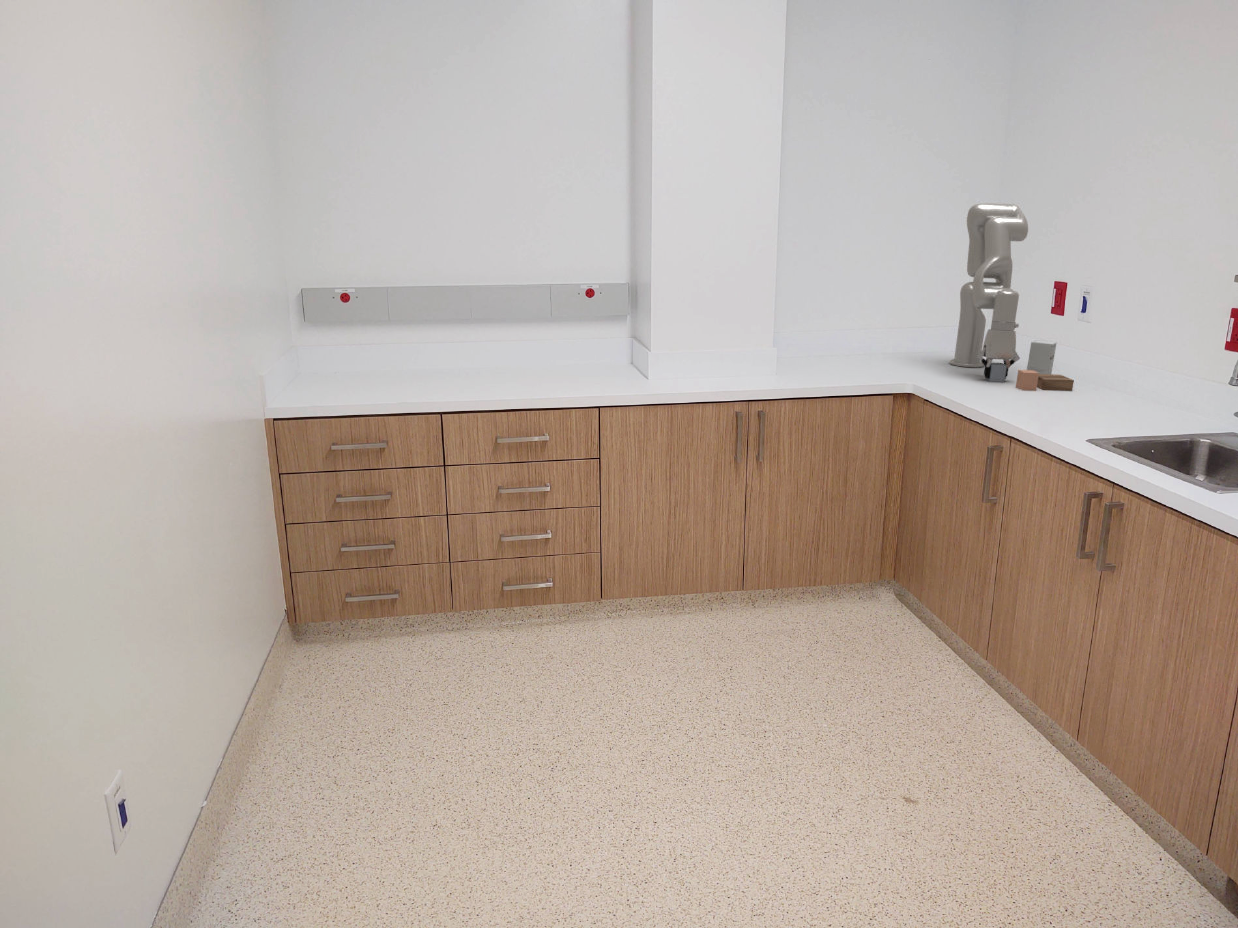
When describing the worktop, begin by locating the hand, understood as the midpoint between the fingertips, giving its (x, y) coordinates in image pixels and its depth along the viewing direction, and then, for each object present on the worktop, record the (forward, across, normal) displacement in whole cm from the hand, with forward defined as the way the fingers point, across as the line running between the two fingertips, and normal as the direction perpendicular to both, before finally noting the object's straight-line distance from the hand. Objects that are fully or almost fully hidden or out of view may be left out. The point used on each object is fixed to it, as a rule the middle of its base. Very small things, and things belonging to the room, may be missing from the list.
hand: (995, 377), depth 324 cm
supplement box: (+1, -20, -12) cm, 23 cm away
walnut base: (+2, -16, +9) cm, 18 cm away
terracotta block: (+1, -6, +13) cm, 14 cm away
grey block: (+1, 0, 0) cm, 1 cm away
